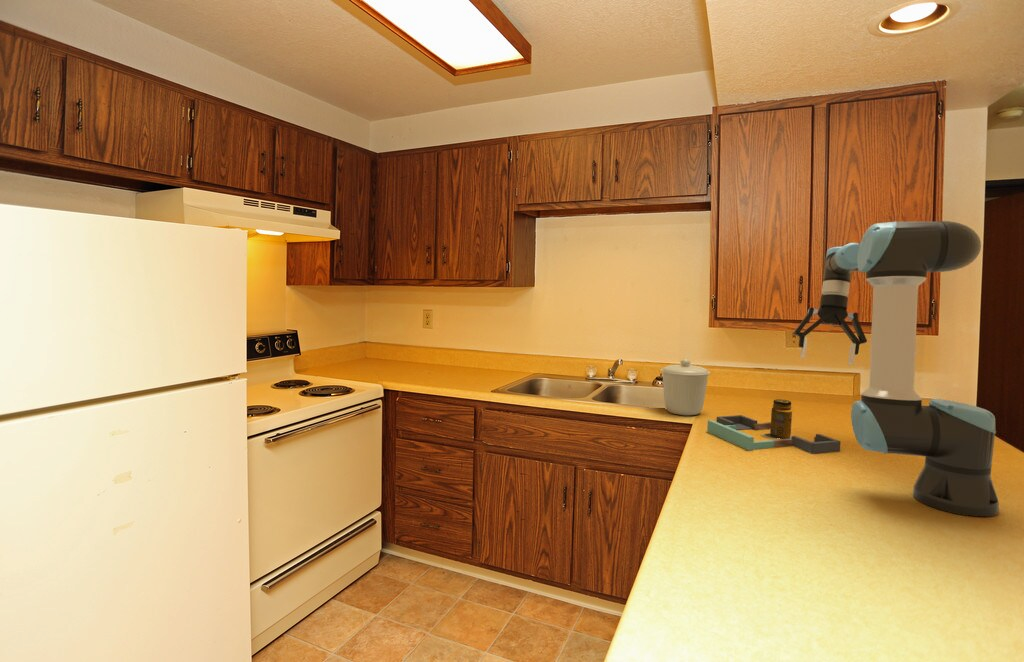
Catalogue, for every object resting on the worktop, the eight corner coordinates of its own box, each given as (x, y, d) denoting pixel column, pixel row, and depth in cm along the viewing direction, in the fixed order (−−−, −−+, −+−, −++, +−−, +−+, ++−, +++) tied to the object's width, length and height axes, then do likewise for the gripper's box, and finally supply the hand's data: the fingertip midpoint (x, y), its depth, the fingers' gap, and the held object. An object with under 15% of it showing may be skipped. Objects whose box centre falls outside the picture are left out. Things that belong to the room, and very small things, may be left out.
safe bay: (731, 430, 183) (732, 418, 182) (775, 448, 163) (776, 435, 163) (707, 431, 180) (707, 420, 180) (748, 450, 161) (749, 437, 160)
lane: (781, 426, 187) (782, 421, 187) (827, 443, 169) (827, 436, 169) (732, 430, 182) (733, 424, 182) (773, 447, 164) (774, 441, 163)
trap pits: (759, 421, 194) (760, 413, 194) (840, 451, 161) (841, 441, 160) (715, 425, 189) (716, 416, 189) (789, 455, 156) (790, 445, 156)
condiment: (796, 437, 175) (798, 401, 174) (781, 441, 170) (784, 404, 169) (774, 432, 181) (776, 397, 180) (760, 436, 176) (762, 400, 175)
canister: (659, 416, 200) (661, 361, 198) (658, 405, 218) (660, 354, 216) (711, 420, 196) (713, 363, 194) (705, 408, 213) (707, 356, 211)
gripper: (875, 302, 171) (867, 368, 170) (789, 293, 179) (781, 356, 177) (883, 298, 164) (875, 366, 163) (794, 289, 172) (785, 354, 170)
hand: (826, 361), depth 170 cm, fingers open, 13 cm apart
